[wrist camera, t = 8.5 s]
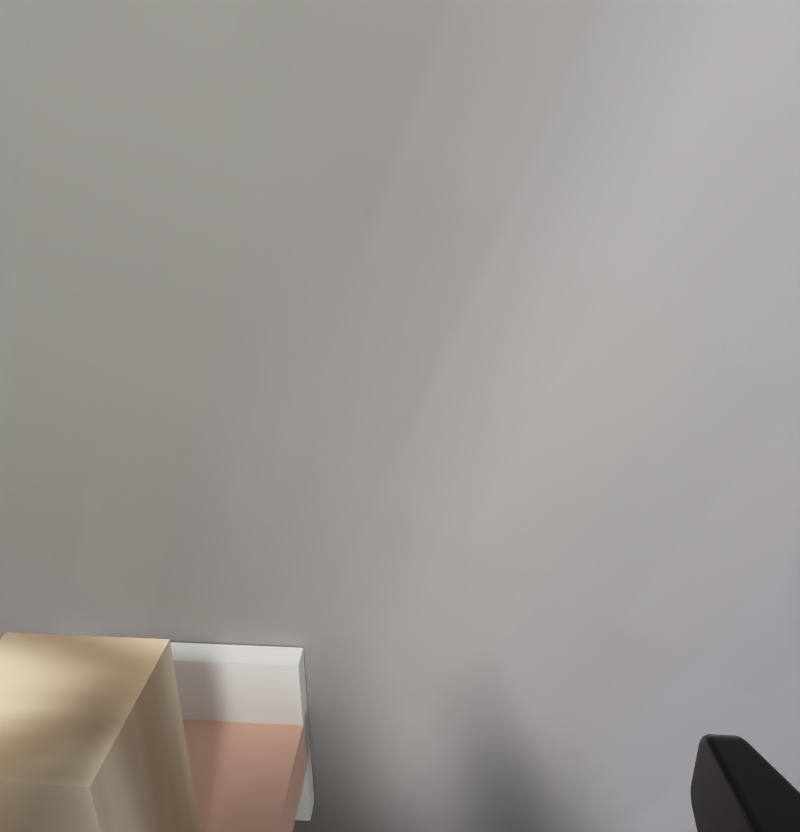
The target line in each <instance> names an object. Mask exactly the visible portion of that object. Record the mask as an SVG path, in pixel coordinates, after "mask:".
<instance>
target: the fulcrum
mask: <svg viewBox="0 0 800 832" xmlns="http://www.w3.org/2000/svg"><path fill="white" fill-rule="evenodd" d="M170 644H171V651H172V657H173V663H174V669H175V675H176V681H177V688H178V694H179V700H180V706H181V712H182V719H183V725H184V731H185V737H186V743H187V750H188V756H189V762H190V768H191V774H192V781H193V787H194V793H195V799H196V805H197V812H198V818H199V824H200V830H201V832H293V828H294V823H295V820H302V821H310V820H311V815H312V810H313V805H314V789H313V775H312V761H311V747H310V734H309V720H308V706H307V692H306V678H305V664H304V650H303V648H296V647H272V646H247V645H223V644H199V643H175V642H170Z"/></svg>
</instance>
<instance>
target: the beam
mask: <svg viewBox="0 0 800 832" xmlns="http://www.w3.org/2000/svg"><path fill="white" fill-rule="evenodd" d="M0 832H201V830H200V824H199V818H198V812H197V805H196V799H195V793H194V787H193V781H192V774H191V768H190V762H189V756H188V750H187V743H186V737H185V731H184V725H183V719H182V712H181V706H180V700H179V694H178V688H177V681H176V675H175V669H174V663H173V657H172V651H171V644H170V639H150V638H127V637H104V636H80V635H57V634H33V633H10V632H7V633H6V634H5V635H4V636H3V637H2V638H1V639H0Z"/></svg>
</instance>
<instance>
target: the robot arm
mask: <svg viewBox="0 0 800 832" xmlns="http://www.w3.org/2000/svg"><path fill="white" fill-rule="evenodd" d="M691 802H692V808H693V813H694V817H695V822H696V827H697V831H698V832H800V793H799V792H798V791H797V790H796V789H795V788H794V787H793V786H792V785H791V784H790V783H789V782H788V781H787V780H786V779H785V778H784V777H783V776H782V775H781V774H780V773H779V772H778V771H777V770H776V769H775V768H774V767H773V766H771V765H770V764H769V763H768V762H767V761H766V760H765V759H764V758H763V757H762V756H761V755H760V754H759V753H758V752H757V751H756V750H755V749H754V748H753V747H752V746H751V745H750V744H749V743H748V742H747V741H745V740H744V739H742V738H741V737H738V736H733V735H712V734H708V735H705V736H703V737H702V739H701V740H700V743H699V747H698V752H697V757H696V762H695V768H694V773H693V778H692V783H691Z"/></svg>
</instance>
